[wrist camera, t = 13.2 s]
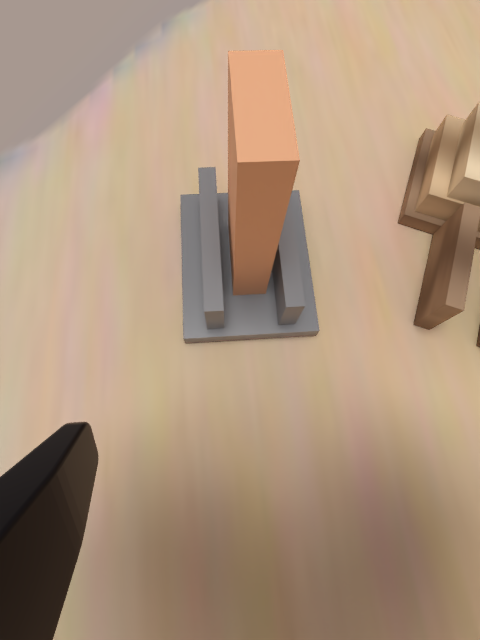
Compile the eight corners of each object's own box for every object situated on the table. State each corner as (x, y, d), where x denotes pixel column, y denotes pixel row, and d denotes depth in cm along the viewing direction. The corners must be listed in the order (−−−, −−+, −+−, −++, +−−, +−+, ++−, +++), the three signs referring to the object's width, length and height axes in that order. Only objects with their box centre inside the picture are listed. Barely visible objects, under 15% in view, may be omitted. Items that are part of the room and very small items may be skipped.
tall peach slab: (265, 293, 22) (299, 160, 12) (233, 295, 22) (237, 162, 11) (258, 223, 24) (283, 50, 13) (228, 224, 23) (228, 50, 13)
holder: (315, 335, 22) (333, 313, 18) (185, 343, 22) (176, 322, 18) (296, 199, 25) (308, 157, 22) (182, 204, 25) (174, 161, 21)
